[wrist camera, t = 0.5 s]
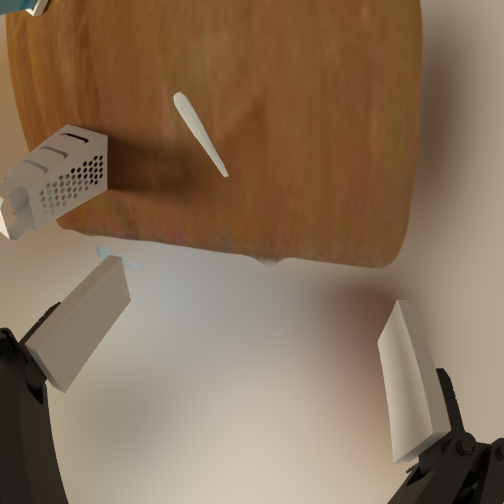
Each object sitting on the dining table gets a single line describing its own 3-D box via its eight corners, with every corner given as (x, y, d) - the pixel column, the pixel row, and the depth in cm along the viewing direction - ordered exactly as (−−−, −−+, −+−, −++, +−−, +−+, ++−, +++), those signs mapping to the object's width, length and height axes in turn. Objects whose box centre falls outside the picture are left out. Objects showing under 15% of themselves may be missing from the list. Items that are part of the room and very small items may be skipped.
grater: (107, 135, 37) (6, 201, 22) (107, 189, 44) (27, 261, 30) (67, 124, 37) (-24, 179, 23) (70, 173, 44) (-6, 234, 30)
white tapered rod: (186, 86, 29) (169, 98, 31) (283, 252, 42) (265, 256, 44) (188, 85, 30) (171, 97, 31) (283, 249, 43) (266, 254, 44)
